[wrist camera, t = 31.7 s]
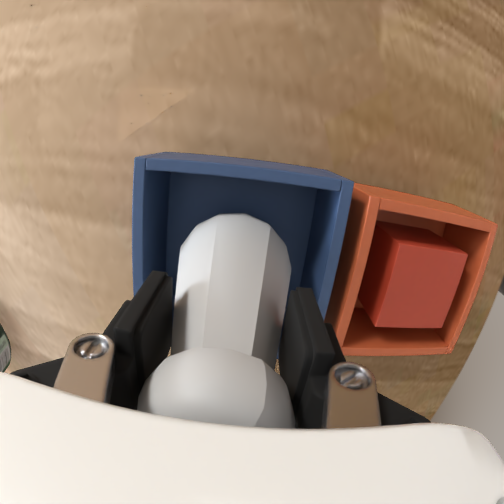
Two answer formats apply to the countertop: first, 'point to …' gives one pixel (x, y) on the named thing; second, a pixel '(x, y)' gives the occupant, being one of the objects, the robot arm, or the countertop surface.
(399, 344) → the orange bin
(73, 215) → the countertop surface
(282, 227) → the blue bin
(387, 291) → the red block
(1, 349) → the coffee jar
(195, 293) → the salt shaker
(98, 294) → the countertop surface
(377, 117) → the countertop surface
